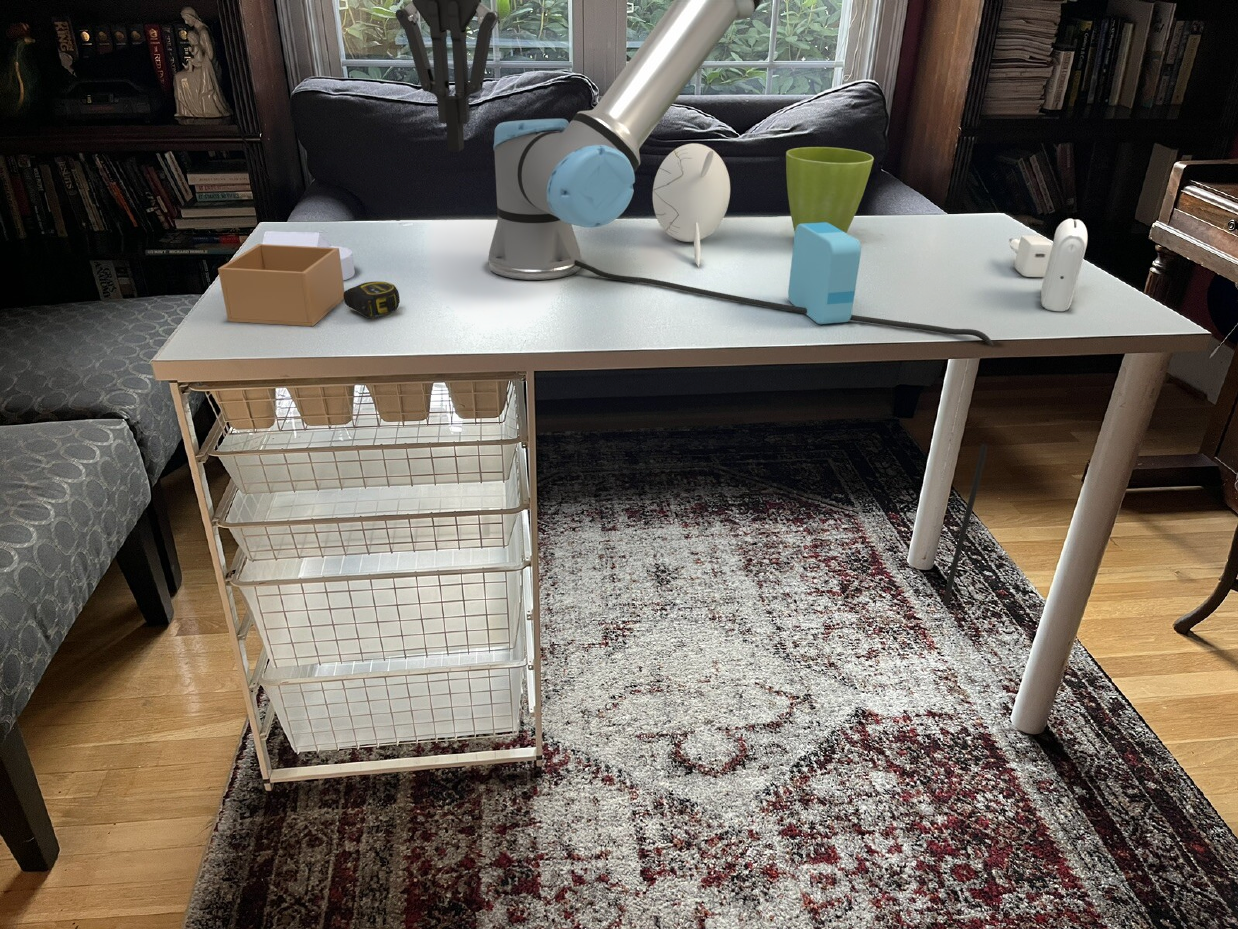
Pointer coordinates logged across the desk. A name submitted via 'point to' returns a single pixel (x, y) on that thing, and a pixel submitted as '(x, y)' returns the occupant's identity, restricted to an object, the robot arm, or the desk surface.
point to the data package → (824, 272)
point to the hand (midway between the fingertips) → (456, 148)
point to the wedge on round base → (311, 241)
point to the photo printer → (1064, 265)
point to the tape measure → (372, 298)
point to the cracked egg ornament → (691, 194)
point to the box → (282, 284)
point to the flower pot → (826, 184)
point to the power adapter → (1031, 255)
